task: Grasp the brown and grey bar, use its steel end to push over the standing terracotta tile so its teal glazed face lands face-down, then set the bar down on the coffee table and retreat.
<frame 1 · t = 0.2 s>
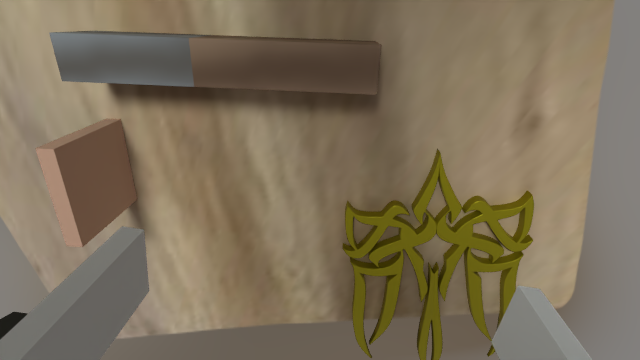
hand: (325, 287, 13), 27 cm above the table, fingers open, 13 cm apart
tile: (122, 160, 41), on the table
brown and grey bar: (234, 57, 36), on the table
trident: (430, 273, 46), on the table
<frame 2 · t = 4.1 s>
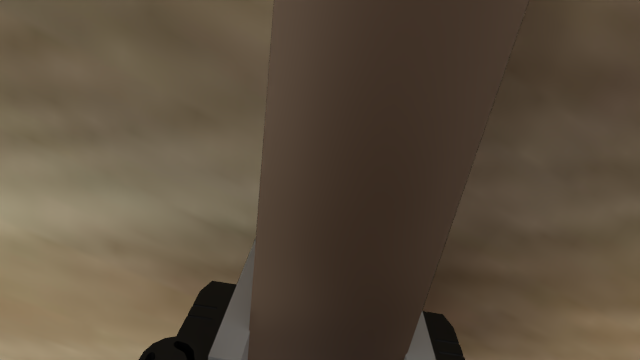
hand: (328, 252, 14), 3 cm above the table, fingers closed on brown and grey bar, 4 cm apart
brown and grey bar: (328, 247, 15), point 3 cm above the table, touching gripper
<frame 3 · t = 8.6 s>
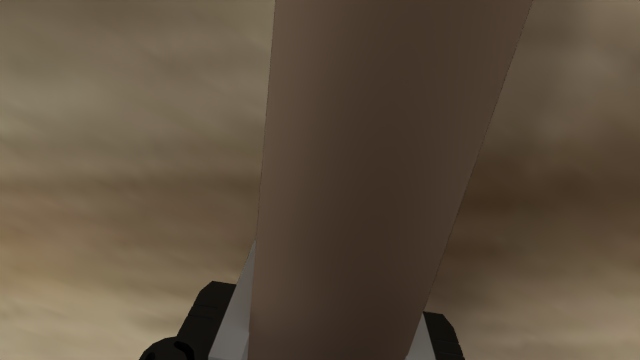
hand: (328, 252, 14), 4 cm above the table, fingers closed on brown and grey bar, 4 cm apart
brown and grey bar: (328, 248, 15), point 4 cm above the table, touching gripper
when the fingers open (0 cm above the table, at t = 14.6 s): brown and grey bar stays where it is, on the table.
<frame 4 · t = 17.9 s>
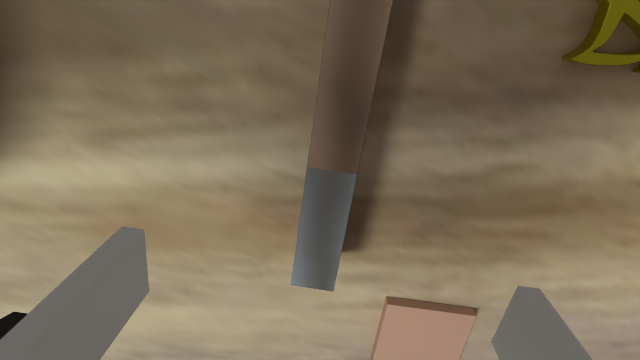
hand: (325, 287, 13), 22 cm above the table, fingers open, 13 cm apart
tile: (430, 305, 40), on the table, tilted 90°
brown and grey bar: (337, 125, 32), on the table
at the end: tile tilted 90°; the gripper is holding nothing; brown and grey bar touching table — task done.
